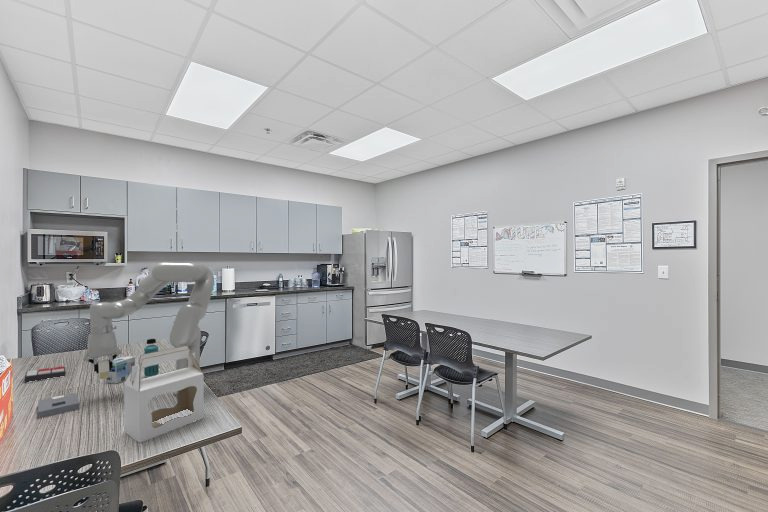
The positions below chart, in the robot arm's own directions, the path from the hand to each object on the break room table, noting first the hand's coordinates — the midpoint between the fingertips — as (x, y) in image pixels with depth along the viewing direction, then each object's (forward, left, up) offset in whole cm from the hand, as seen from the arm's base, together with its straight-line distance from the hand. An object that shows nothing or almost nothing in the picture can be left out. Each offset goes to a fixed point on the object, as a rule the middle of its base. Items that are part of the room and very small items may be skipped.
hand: (103, 371), depth 155 cm
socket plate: (+1, +15, -12) cm, 19 cm away
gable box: (-49, -13, -12) cm, 52 cm away
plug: (0, 0, -3) cm, 3 cm away
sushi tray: (+59, +18, -13) cm, 63 cm away
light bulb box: (+24, -9, -12) cm, 29 cm away
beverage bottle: (+17, -21, -12) cm, 30 cm away
